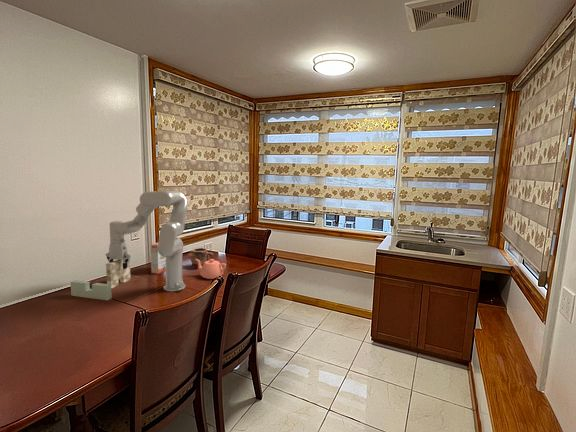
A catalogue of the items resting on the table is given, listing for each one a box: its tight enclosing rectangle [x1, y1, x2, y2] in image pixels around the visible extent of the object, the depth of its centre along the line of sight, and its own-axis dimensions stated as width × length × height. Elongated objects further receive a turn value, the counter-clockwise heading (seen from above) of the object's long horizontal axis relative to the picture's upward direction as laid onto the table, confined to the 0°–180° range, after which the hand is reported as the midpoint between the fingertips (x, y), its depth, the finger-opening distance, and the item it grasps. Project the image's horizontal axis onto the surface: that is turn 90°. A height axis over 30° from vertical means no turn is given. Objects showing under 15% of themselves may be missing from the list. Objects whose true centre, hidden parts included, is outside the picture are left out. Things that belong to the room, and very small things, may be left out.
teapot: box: [196, 258, 227, 280], centre depth 208 cm, size 22×15×12 cm
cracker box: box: [150, 242, 166, 275], centre depth 216 cm, size 14×6×21 cm, turn 168°
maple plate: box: [105, 259, 131, 289], centre depth 190 cm, size 16×3×15 cm, turn 168°
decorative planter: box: [187, 247, 215, 270], centre depth 228 cm, size 20×12×14 cm, turn 92°
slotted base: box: [70, 279, 113, 301], centre depth 169 cm, size 24×3×8 cm, turn 78°
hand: (118, 267), depth 189 cm, fingers open, 9 cm apart
